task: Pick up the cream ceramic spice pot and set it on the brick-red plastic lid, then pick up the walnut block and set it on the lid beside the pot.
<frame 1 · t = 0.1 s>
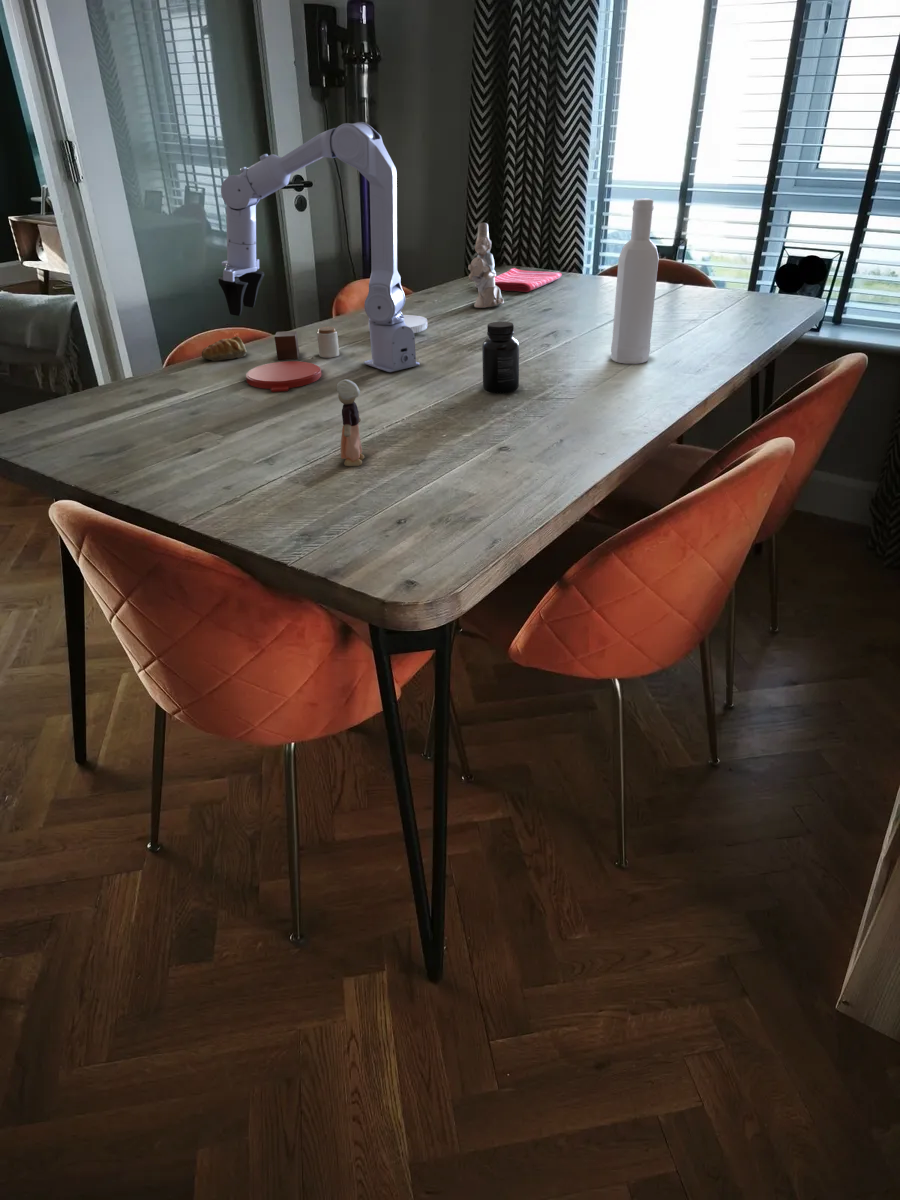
hand: (242, 310, 169), 11 cm above the table, tool pointing down, fingers open, 7 cm apart
figurine: (486, 306, 214), on the table
spice pot: (329, 355, 176), on the table
supplement bottle: (500, 390, 152), on the table
bottle: (629, 359, 167), on the table
walnut block: (288, 357, 176), on the table
grandmother figurine: (353, 463, 123), on the table
pastry: (227, 357, 178), on the table
dish towel: (520, 284, 238), on the table
red lid: (284, 377, 163), on the table
plastic lid: (398, 333, 192), on the table
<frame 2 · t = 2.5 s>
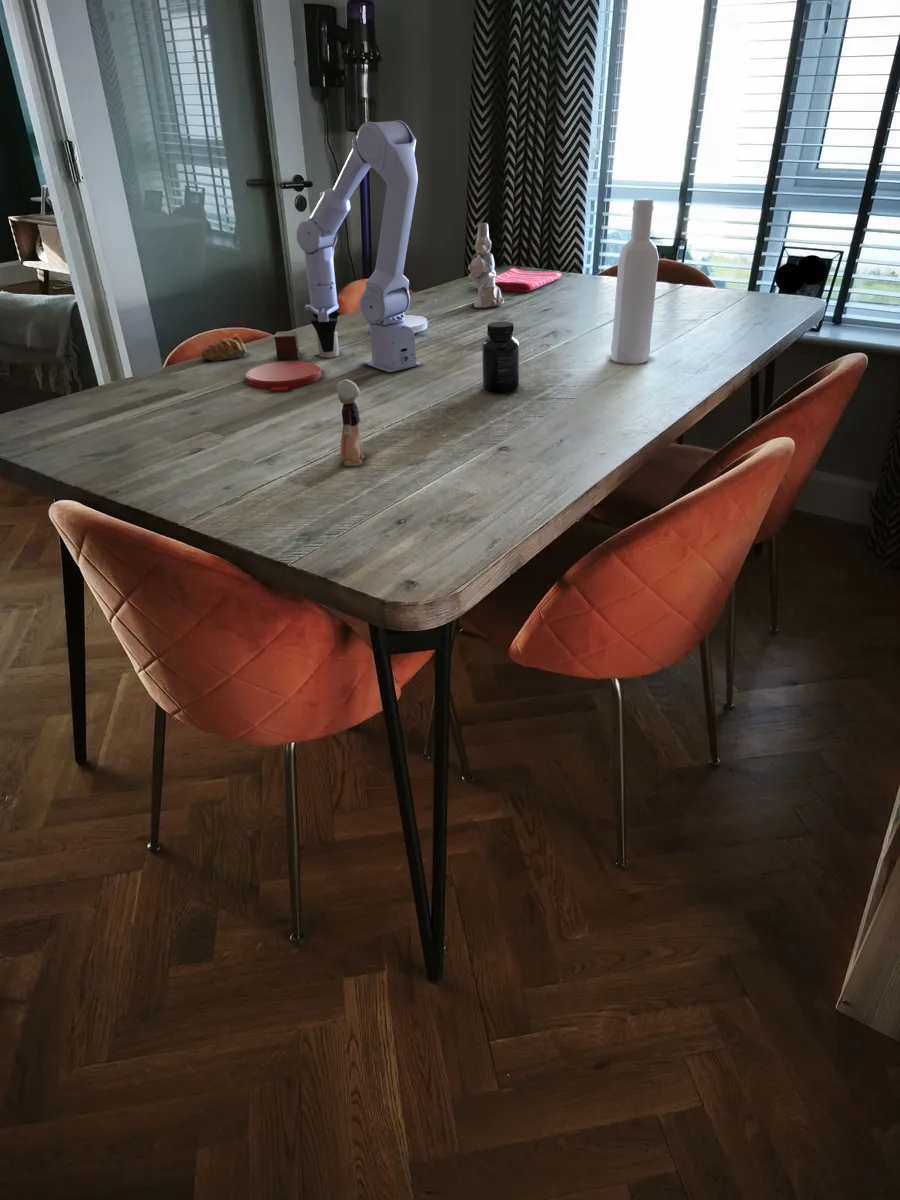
hand: (328, 348, 176), 1 cm above the table, tool pointing down, fingers closed on spice pot, 4 cm apart
spice pot: (329, 355, 176), on the table, touching gripper
everything else where it was.
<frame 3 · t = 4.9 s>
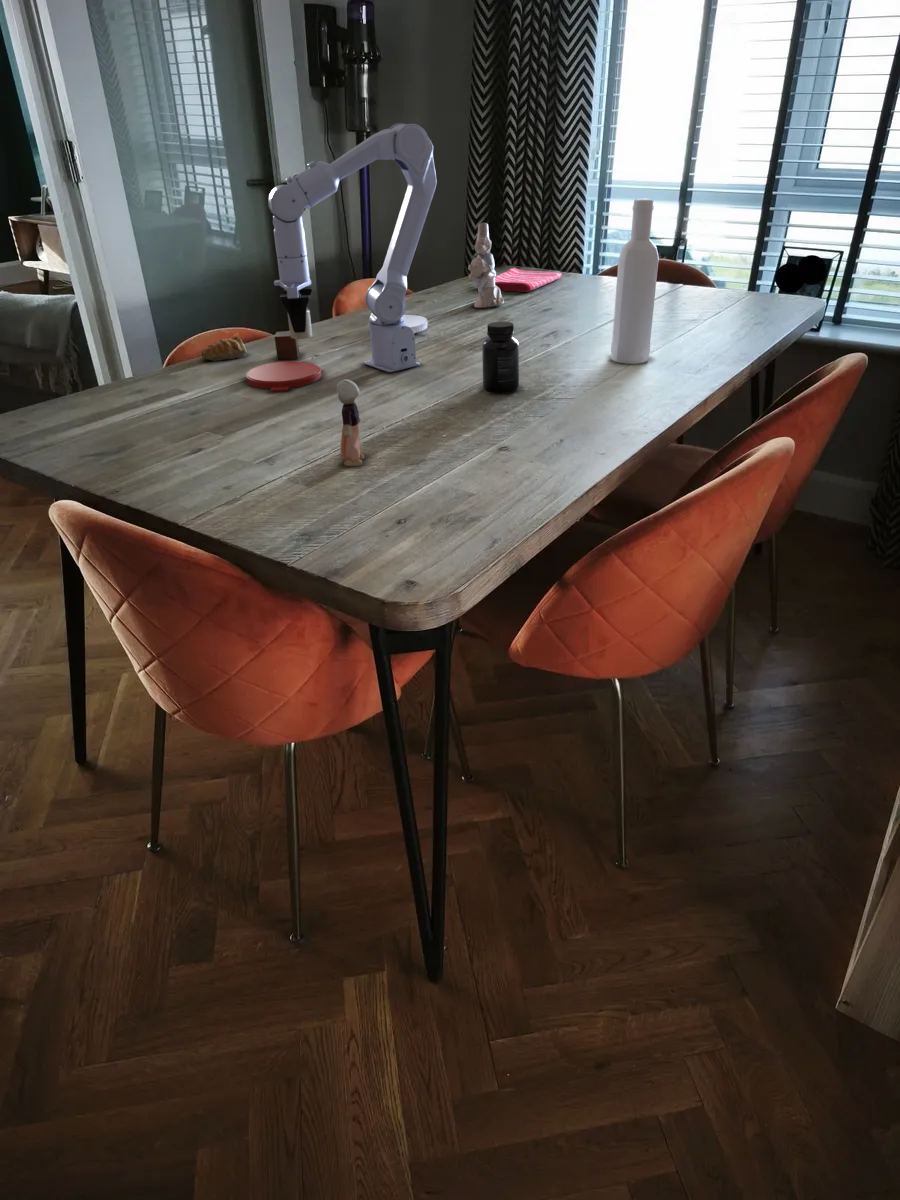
hand: (300, 329, 160), 9 cm above the table, tool pointing down, fingers closed on spice pot, 4 cm apart
spice pot: (301, 336, 161), point 8 cm above the table, touching gripper
everything else where it was.
when the fingers open (3 cm above the table, at t = 7.1 s): spice pot stays where it is, resting on red lid.
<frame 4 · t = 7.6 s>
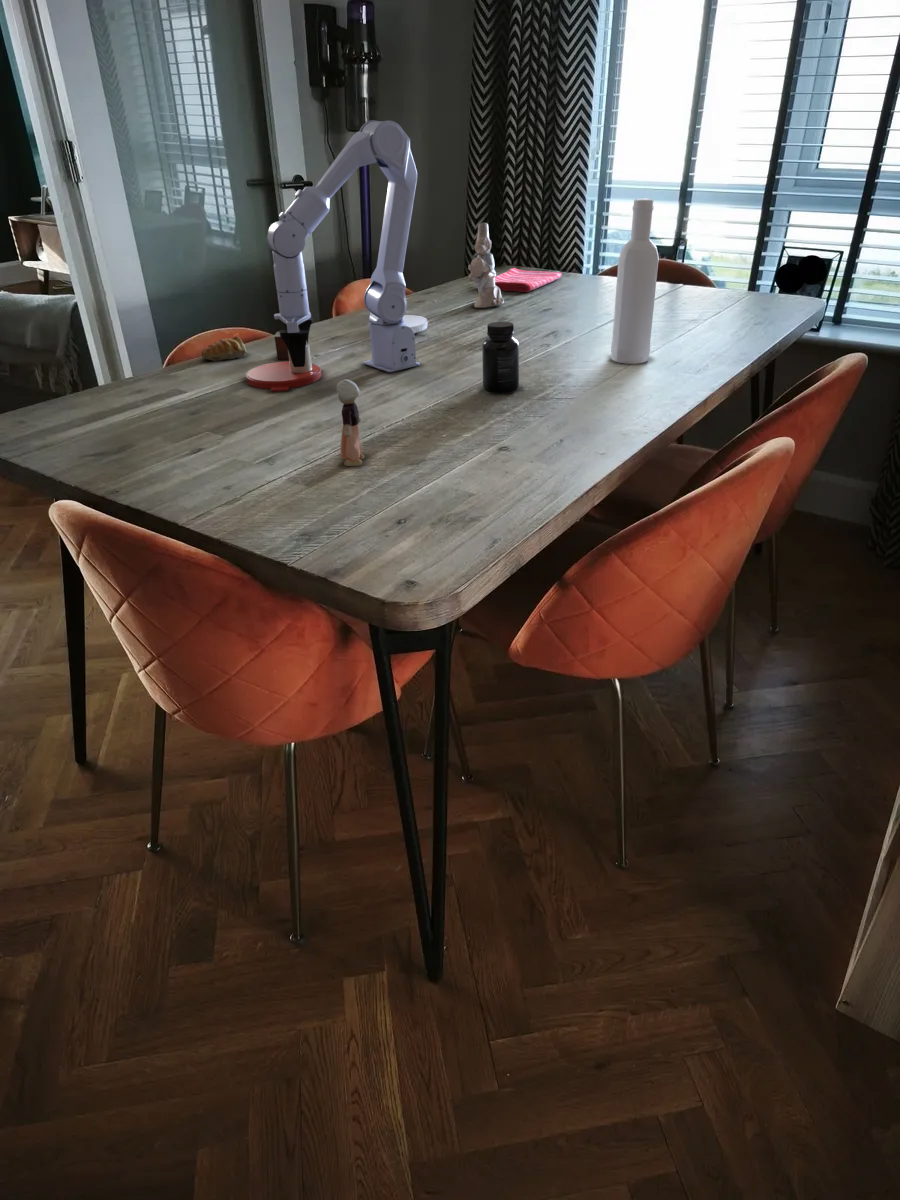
hand: (300, 361, 161), 3 cm above the table, tool pointing down, fingers open, 7 cm apart
spice pot: (301, 370, 162), point 1 cm above the table, touching red lid
red lid: (284, 377, 163), on the table, touching spice pot
everything else where it was.
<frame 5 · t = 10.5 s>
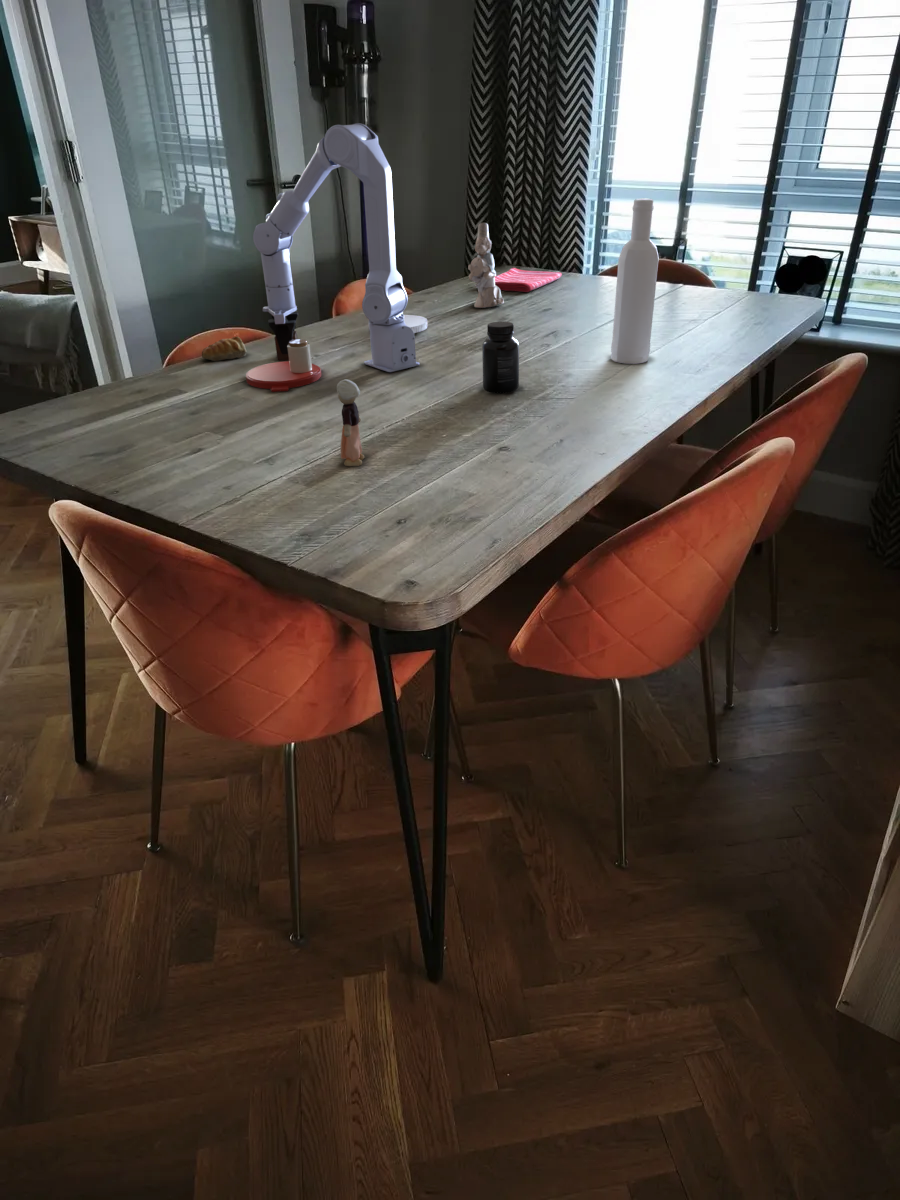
hand: (287, 350, 175), 1 cm above the table, tool pointing down, fingers closed on walnut block, 4 cm apart
walnut block: (288, 357, 176), on the table, touching gripper
everything else where it was.
when the fingers open (3 cm above the table, at t = 15.1 s): walnut block stays where it is, resting on red lid.
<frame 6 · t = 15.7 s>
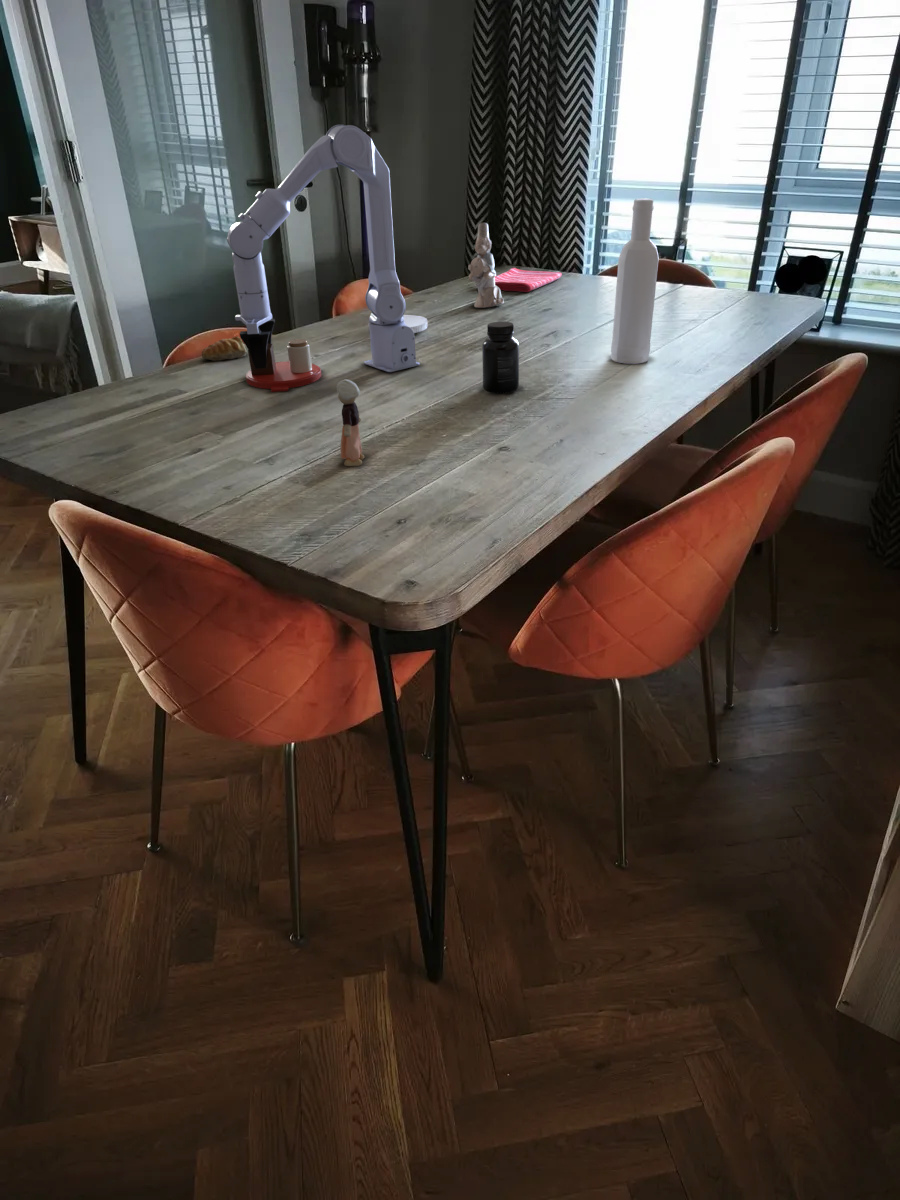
hand: (263, 362, 161), 3 cm above the table, tool pointing down, fingers open, 7 cm apart
walnut block: (264, 371, 162), point 1 cm above the table, touching red lid
red lid: (284, 377, 163), on the table, touching spice pot, walnut block
everything else where it was.
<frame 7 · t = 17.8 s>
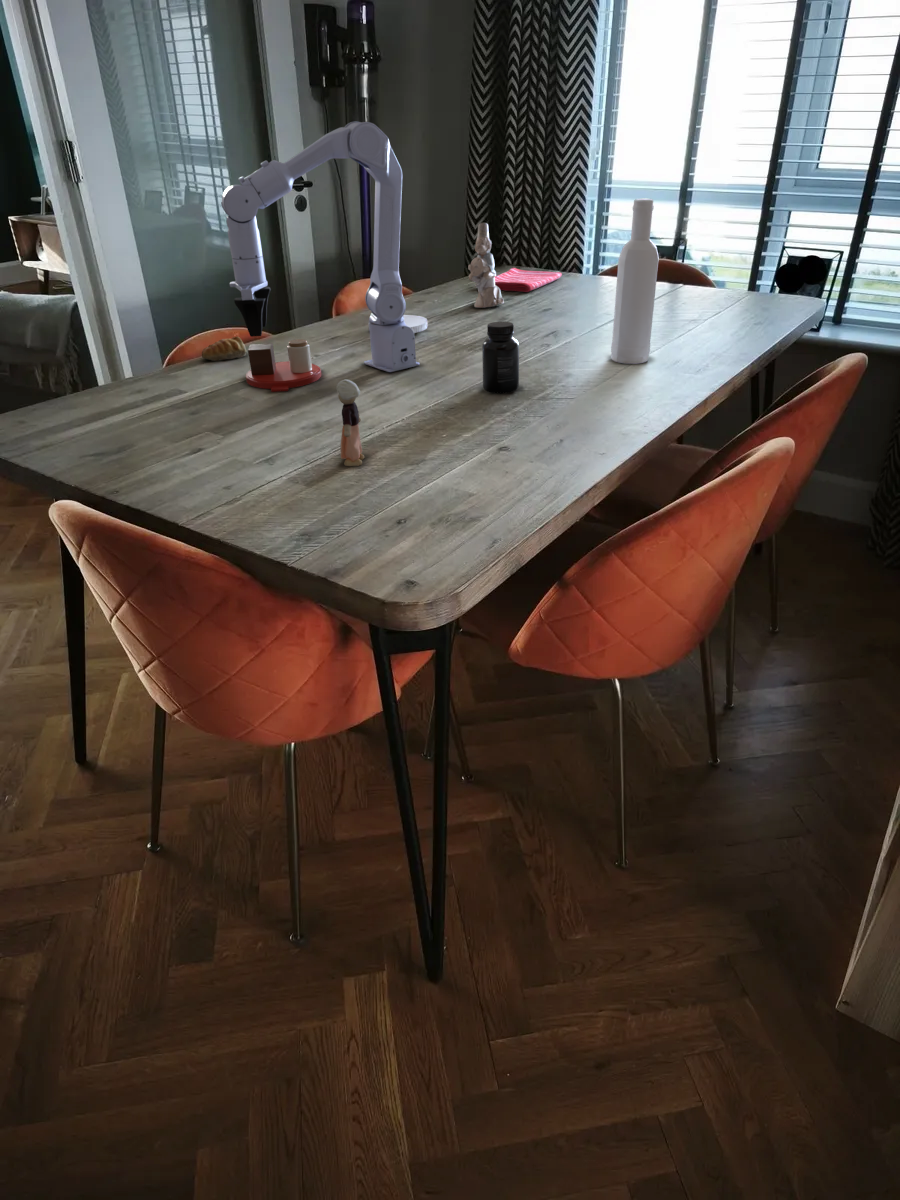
hand: (258, 331, 157), 9 cm above the table, tool pointing down, fingers open, 7 cm apart
nothing on the table moved.
at the end: spice pot inside the target area on the red lid (3.7 cm from its centre), point 1.4 cm above the red lid's base; walnut block inside the target area on the red lid (3.7 cm from its centre), point 1.4 cm above the red lid's base; spice pot tilted 0° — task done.
